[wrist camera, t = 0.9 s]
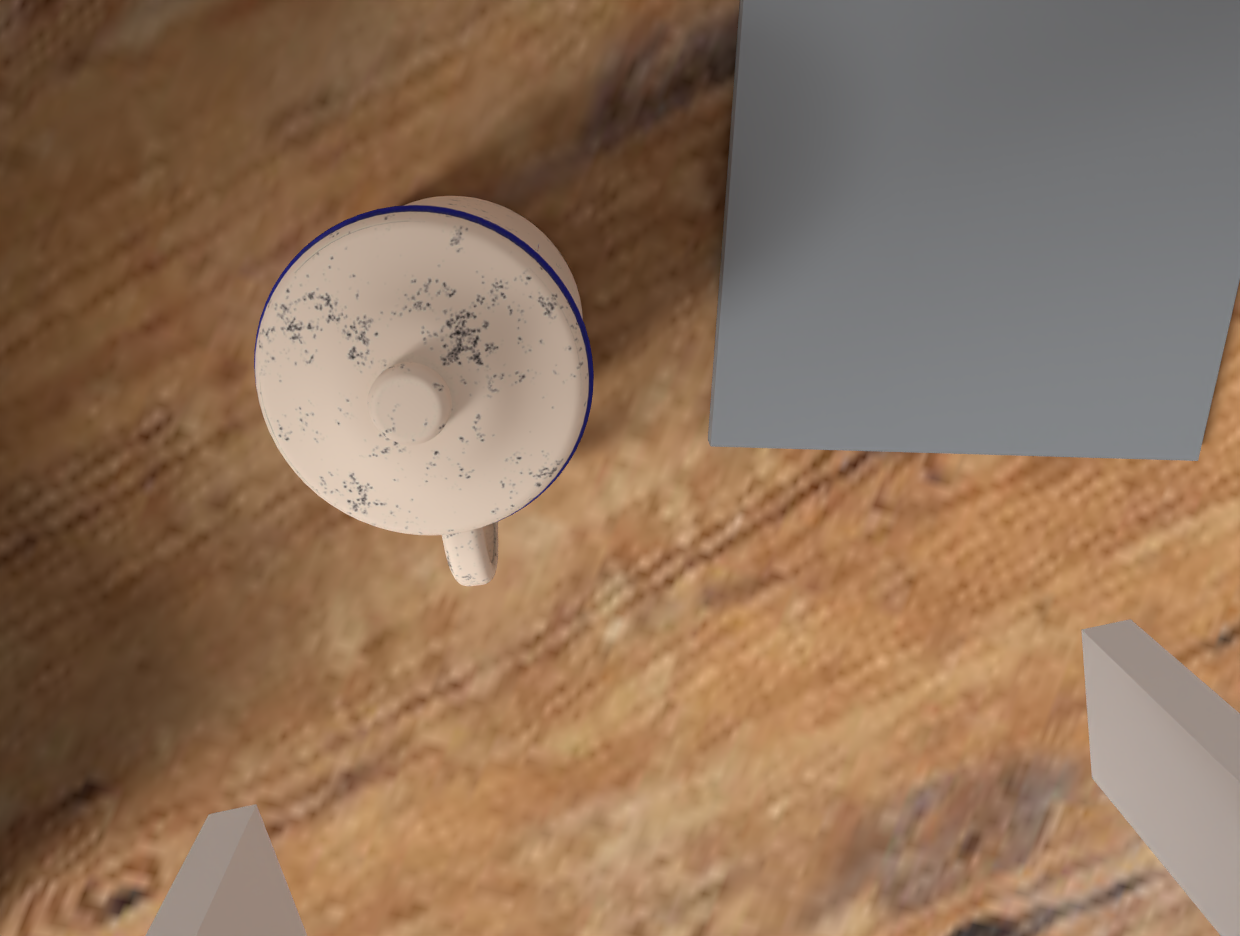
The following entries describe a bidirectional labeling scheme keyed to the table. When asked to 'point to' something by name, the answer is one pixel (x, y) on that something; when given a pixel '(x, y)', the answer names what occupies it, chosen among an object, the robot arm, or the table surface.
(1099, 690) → the robot arm
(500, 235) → the teacup with lid
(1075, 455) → the slate mat
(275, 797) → the table surface
